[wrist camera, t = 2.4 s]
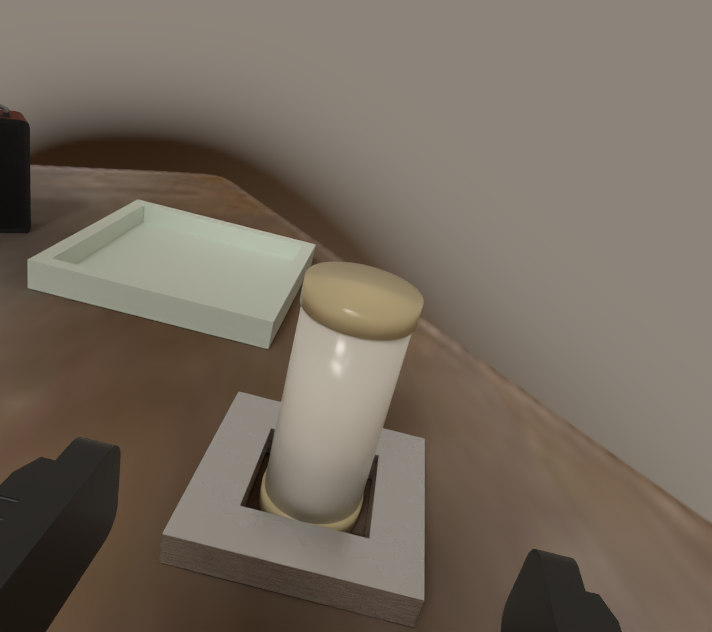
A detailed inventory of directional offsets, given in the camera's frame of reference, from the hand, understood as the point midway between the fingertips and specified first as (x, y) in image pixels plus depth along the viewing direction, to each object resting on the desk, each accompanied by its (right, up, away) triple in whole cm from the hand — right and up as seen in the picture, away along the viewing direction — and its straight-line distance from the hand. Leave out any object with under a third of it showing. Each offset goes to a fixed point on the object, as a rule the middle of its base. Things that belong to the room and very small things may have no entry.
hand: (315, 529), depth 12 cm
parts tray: (-12, +7, +34) cm, 37 cm away
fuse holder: (-1, -4, +16) cm, 17 cm away
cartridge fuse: (-1, -4, +16) cm, 17 cm away
